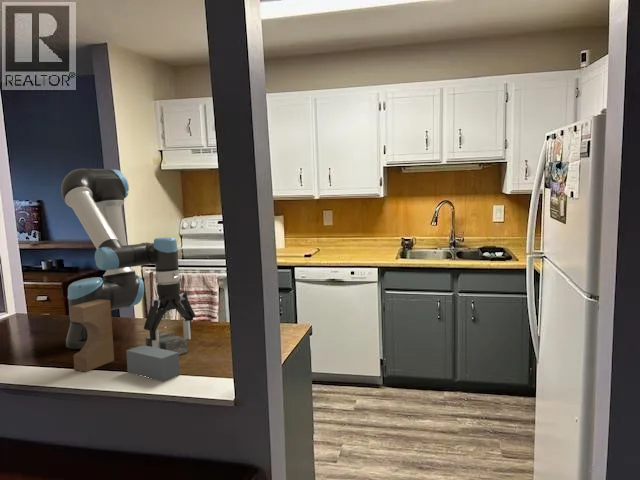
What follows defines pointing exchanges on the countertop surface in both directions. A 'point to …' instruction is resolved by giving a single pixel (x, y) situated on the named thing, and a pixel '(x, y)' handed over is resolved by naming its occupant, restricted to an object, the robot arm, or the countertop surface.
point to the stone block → (170, 343)
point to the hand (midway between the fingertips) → (172, 343)
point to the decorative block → (94, 334)
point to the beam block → (153, 362)
